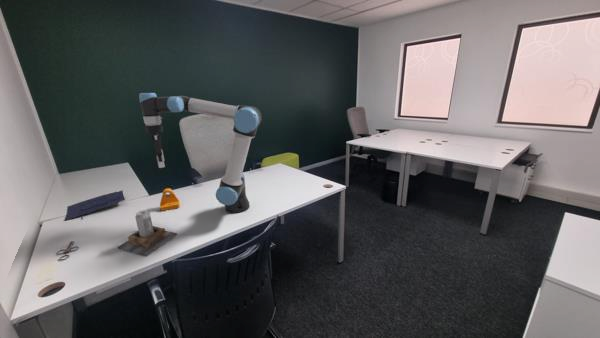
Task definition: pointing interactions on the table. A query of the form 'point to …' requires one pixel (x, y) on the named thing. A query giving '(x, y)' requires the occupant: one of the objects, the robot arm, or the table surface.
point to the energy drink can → (144, 224)
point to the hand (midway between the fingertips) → (161, 164)
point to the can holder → (147, 241)
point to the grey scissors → (67, 250)
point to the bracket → (169, 200)
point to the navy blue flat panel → (94, 204)
